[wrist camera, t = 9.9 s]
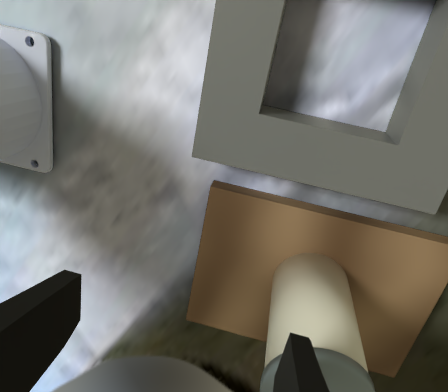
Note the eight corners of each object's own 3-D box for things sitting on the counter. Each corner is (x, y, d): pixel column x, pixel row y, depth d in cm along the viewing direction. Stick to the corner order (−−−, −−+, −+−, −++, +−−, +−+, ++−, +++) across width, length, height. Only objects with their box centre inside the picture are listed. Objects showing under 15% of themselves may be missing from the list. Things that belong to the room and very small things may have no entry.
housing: (203, 143, 20) (191, 156, 18) (247, -125, 15) (240, -154, 13) (418, 194, 19) (435, 214, 17) (542, -76, 14) (589, -98, 12)
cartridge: (263, 304, 23) (249, 427, 16) (280, 243, 21) (272, 350, 14) (336, 323, 22) (357, 458, 15) (360, 262, 20) (396, 383, 13)
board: (189, 309, 25) (185, 319, 24) (214, 180, 21) (210, 186, 20) (390, 365, 24) (394, 377, 23) (458, 239, 20) (466, 249, 19)
